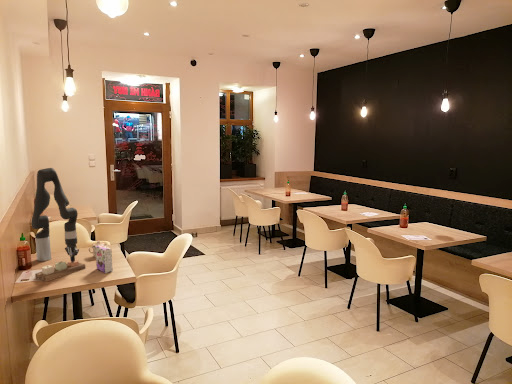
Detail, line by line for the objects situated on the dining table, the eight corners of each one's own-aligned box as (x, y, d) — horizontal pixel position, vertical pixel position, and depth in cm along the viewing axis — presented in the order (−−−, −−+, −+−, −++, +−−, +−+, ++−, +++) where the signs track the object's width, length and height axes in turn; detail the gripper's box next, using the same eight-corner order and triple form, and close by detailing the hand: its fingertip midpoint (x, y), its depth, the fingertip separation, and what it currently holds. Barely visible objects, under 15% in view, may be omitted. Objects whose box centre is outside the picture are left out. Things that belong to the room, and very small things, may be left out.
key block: (35, 278, 249) (35, 273, 249) (74, 265, 273) (74, 261, 273) (46, 281, 243) (46, 276, 243) (85, 268, 267) (85, 264, 267)
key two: (55, 269, 257) (54, 263, 256) (62, 267, 261) (61, 260, 261) (59, 270, 254) (59, 264, 254) (66, 268, 259) (66, 262, 258)
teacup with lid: (106, 253, 301) (105, 239, 300) (105, 257, 293) (104, 242, 291) (90, 254, 298) (89, 240, 297) (88, 258, 290) (87, 243, 288)
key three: (67, 267, 265) (67, 261, 264) (74, 265, 269) (73, 259, 269) (72, 269, 262) (71, 262, 262) (78, 266, 267) (78, 260, 266)
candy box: (96, 268, 266) (94, 245, 264) (104, 266, 270) (103, 244, 268) (104, 273, 256) (103, 249, 254) (113, 271, 260) (111, 248, 258)
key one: (42, 273, 249) (41, 267, 249) (49, 271, 254) (48, 264, 253) (46, 274, 247) (46, 268, 246) (54, 272, 251) (53, 266, 250)
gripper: (59, 237, 263) (61, 261, 265) (71, 239, 256) (73, 264, 259) (69, 234, 269) (71, 258, 272) (81, 237, 263) (83, 261, 265)
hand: (72, 261), depth 265 cm, fingers closed
